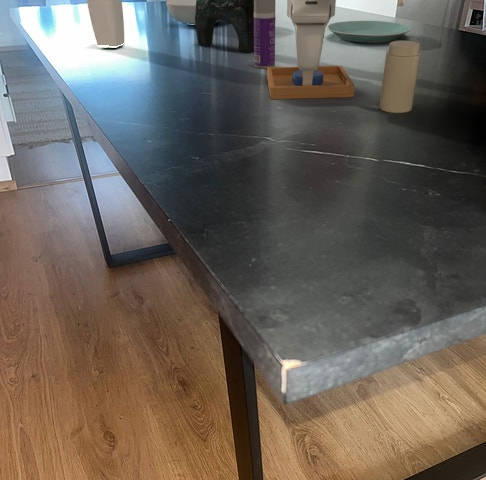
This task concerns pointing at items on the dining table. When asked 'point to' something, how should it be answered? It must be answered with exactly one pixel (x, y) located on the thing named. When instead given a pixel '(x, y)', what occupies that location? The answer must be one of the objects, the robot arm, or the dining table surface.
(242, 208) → the dining table surface
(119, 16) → the cup
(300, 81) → the lid
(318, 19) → the robot arm
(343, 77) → the tray
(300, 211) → the dining table surface
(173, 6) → the serving bowl
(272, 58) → the container
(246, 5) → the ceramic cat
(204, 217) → the dining table surface
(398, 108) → the jar
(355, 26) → the plate
